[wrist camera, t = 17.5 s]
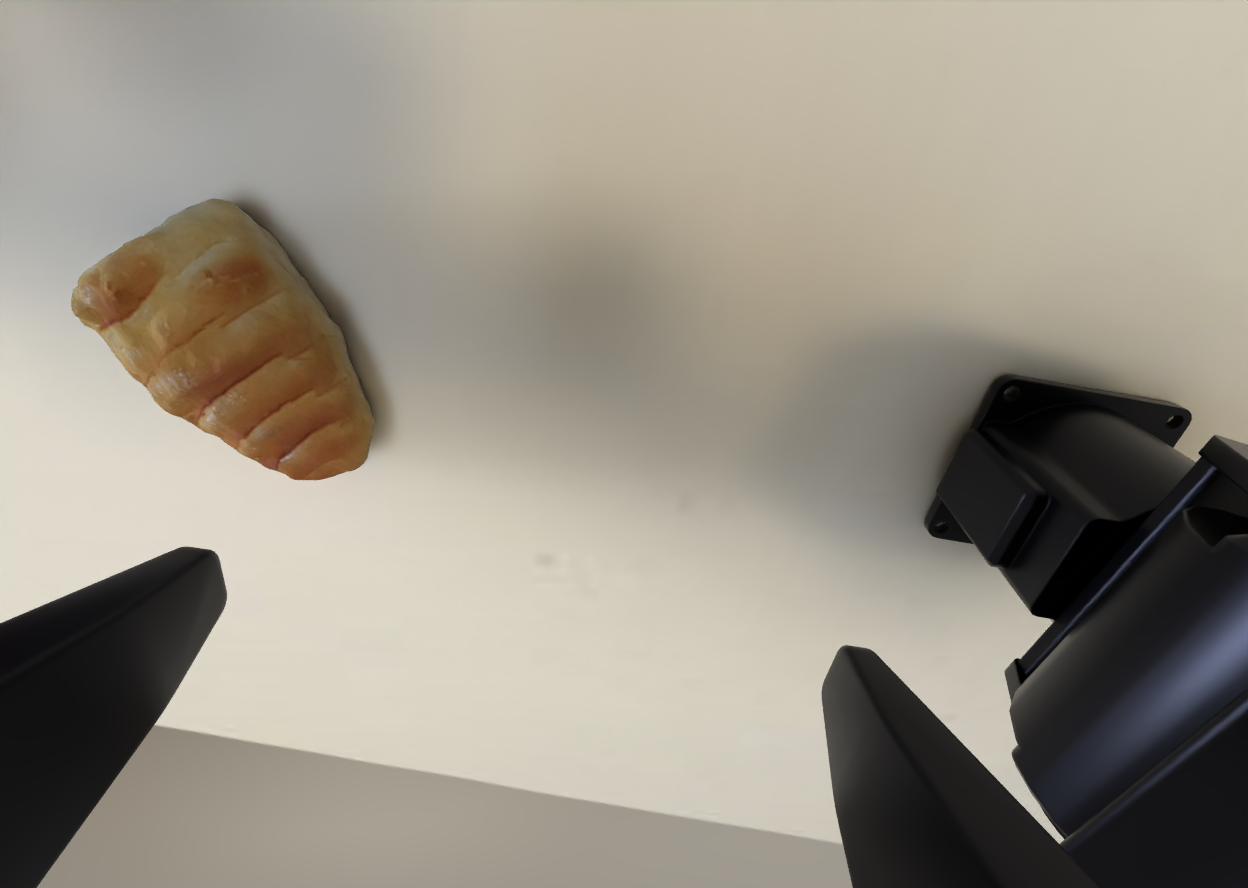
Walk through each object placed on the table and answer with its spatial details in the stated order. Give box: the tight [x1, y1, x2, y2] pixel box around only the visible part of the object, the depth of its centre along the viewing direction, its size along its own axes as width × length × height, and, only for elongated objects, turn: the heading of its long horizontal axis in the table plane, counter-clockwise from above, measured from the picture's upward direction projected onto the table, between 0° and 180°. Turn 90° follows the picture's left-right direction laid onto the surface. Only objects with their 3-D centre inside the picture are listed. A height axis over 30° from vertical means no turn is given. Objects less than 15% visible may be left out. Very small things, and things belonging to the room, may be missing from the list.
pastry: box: [71, 199, 374, 480], centre depth 20 cm, size 9×7×4 cm
